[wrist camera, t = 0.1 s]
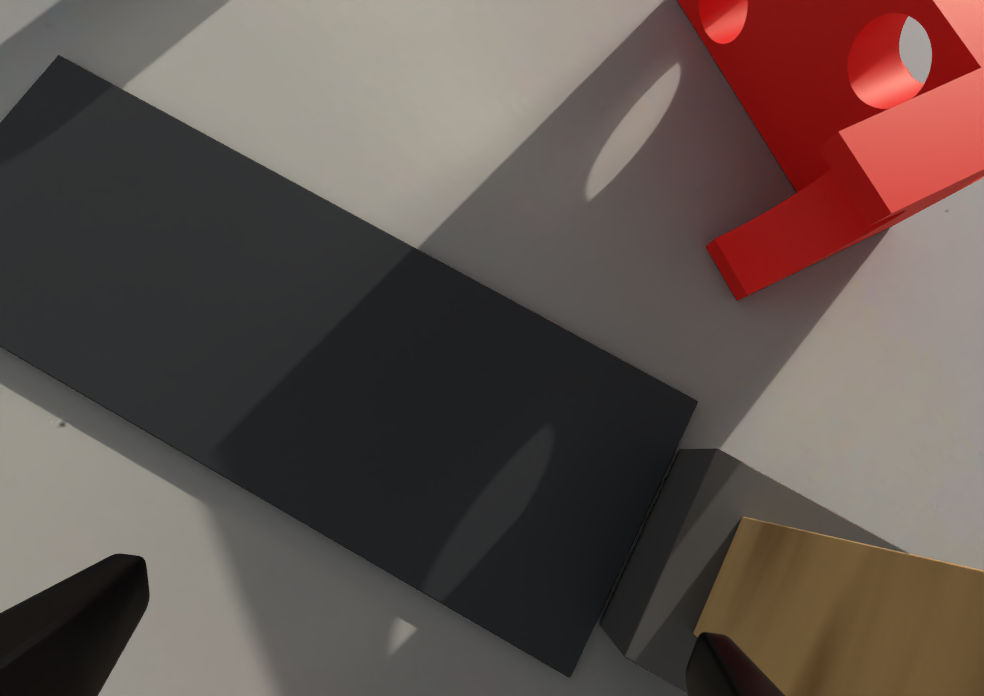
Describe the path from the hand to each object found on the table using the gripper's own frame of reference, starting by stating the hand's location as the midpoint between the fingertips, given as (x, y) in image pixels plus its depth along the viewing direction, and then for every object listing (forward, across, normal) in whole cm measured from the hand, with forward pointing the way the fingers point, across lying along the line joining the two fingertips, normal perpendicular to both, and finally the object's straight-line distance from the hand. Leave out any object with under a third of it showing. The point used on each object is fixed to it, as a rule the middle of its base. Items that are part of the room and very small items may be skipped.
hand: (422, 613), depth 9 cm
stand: (+13, -13, +10) cm, 21 cm away
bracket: (+26, -12, -10) cm, 31 cm away
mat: (+18, +9, +3) cm, 20 cm away
